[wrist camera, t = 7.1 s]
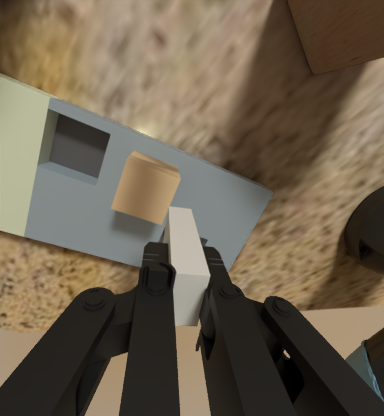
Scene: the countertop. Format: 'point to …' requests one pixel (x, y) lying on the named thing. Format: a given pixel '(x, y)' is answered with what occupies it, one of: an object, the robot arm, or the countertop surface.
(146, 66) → the countertop surface
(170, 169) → the oak cube
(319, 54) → the wooden block
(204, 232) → the board
